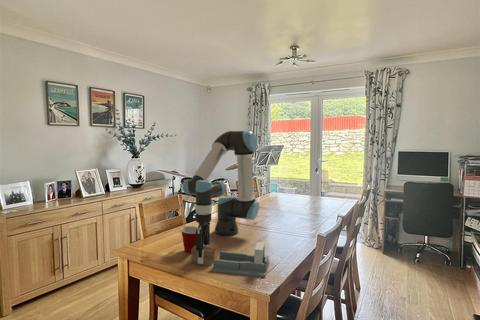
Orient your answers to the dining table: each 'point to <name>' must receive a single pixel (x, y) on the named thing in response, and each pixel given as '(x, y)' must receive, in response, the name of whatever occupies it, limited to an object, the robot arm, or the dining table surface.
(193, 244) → the plastic cup
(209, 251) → the brown rectangular block
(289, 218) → the dining table surface
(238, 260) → the grey grooved base
